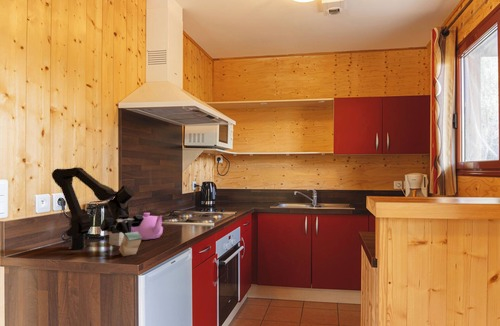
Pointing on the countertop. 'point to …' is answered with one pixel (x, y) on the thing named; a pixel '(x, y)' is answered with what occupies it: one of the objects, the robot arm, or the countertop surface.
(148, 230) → the teapot
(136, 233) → the birch block
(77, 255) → the countertop surface
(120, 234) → the supplement box
